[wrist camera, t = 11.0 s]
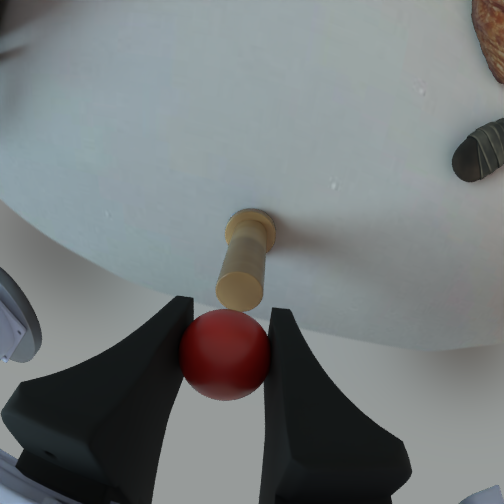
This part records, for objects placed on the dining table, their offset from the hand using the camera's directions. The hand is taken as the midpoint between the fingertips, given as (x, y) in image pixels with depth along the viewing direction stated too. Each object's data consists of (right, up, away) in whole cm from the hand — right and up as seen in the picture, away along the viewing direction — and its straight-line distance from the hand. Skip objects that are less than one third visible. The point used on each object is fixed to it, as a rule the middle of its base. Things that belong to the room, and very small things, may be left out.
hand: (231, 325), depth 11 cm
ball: (0, 0, 0) cm, 0 cm away
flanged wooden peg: (+1, +4, +8) cm, 9 cm away
